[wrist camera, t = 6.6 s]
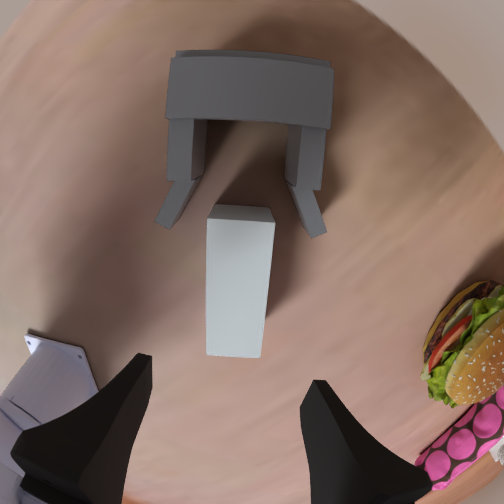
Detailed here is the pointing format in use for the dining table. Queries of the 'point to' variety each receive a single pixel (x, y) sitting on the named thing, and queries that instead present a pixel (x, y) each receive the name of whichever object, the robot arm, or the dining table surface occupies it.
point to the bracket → (497, 449)
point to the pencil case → (465, 441)
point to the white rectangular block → (237, 278)
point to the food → (467, 346)
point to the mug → (501, 455)
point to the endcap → (248, 118)
